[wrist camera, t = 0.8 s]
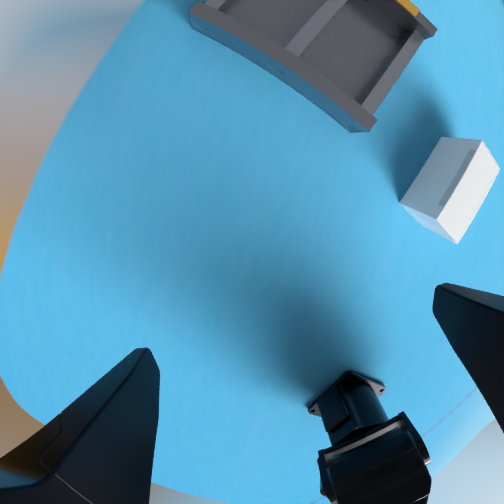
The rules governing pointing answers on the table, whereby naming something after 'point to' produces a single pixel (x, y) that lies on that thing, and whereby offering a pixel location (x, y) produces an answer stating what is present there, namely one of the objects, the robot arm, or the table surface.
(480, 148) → the white rectangular block
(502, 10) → the table surface
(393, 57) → the grey divided tray
